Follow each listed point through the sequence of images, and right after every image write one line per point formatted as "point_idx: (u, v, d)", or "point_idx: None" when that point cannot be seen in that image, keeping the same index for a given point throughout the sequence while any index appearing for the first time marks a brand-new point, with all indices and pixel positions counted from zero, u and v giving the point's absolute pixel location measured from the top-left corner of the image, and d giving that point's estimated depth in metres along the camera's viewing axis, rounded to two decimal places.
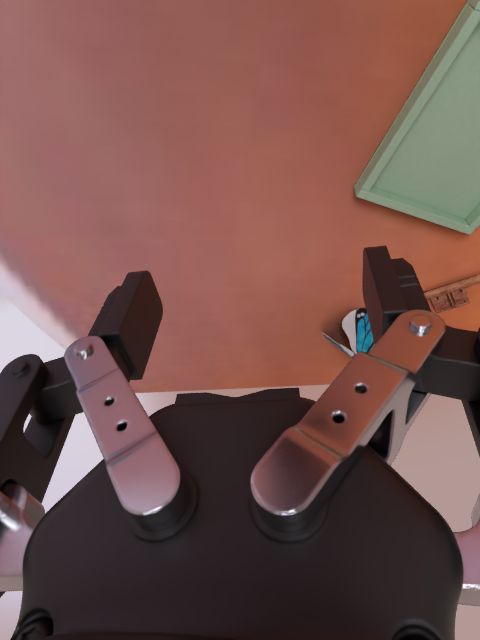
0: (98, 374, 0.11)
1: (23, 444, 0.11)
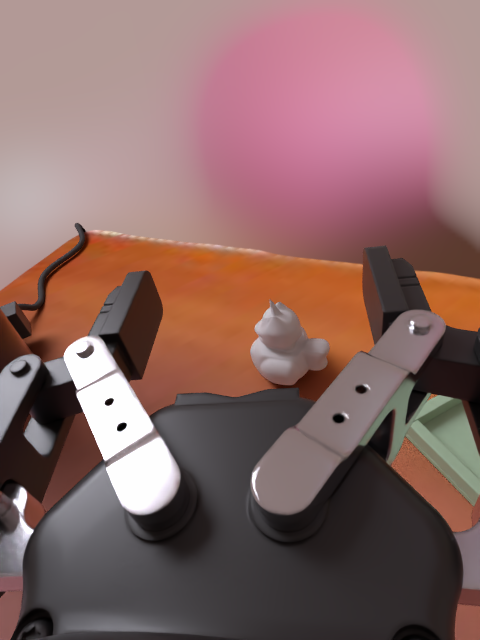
0: (98, 374, 0.11)
1: (23, 444, 0.11)
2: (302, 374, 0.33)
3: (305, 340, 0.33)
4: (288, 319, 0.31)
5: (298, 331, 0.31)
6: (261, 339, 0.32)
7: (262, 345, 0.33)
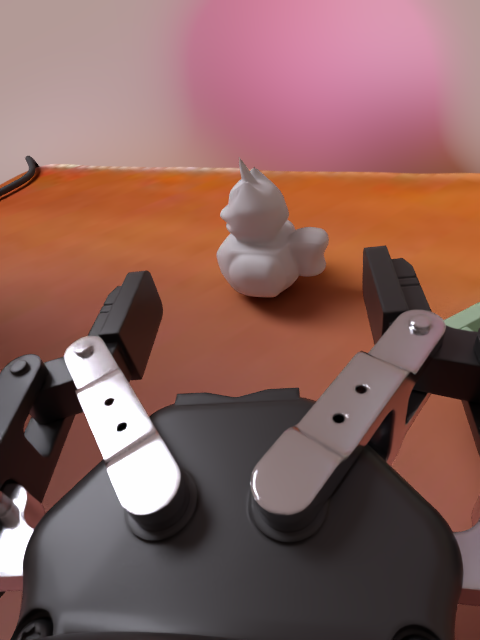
0: (98, 374, 0.11)
1: (23, 444, 0.11)
2: (289, 279, 0.23)
3: (293, 231, 0.23)
4: (267, 190, 0.21)
5: (282, 210, 0.21)
6: (229, 227, 0.22)
7: (232, 240, 0.23)
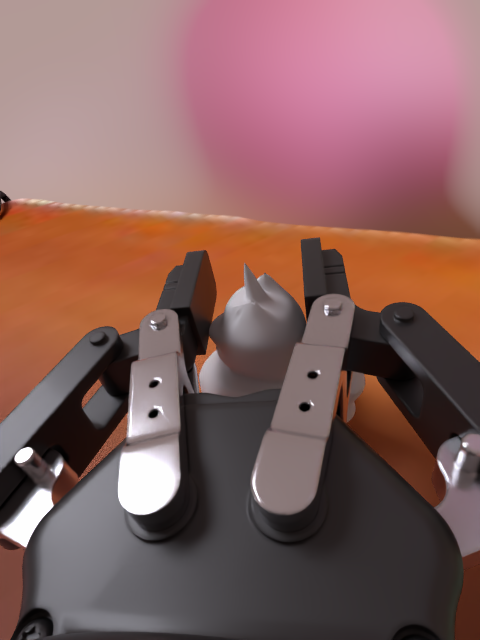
0: (160, 350, 0.12)
1: (78, 414, 0.11)
2: None
3: None
4: (283, 313, 0.14)
5: None
6: (220, 353, 0.15)
7: (223, 367, 0.16)
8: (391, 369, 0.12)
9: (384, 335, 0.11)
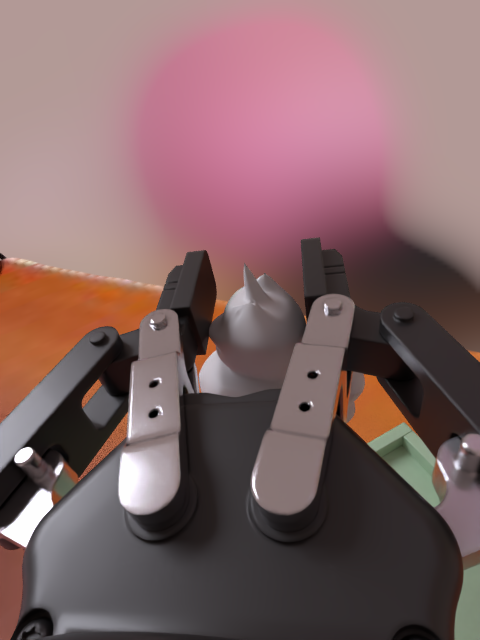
0: (160, 350, 0.12)
1: (78, 414, 0.11)
2: None
3: None
4: (282, 313, 0.14)
5: None
6: (220, 354, 0.15)
7: (223, 367, 0.16)
8: (391, 369, 0.12)
9: (384, 335, 0.11)
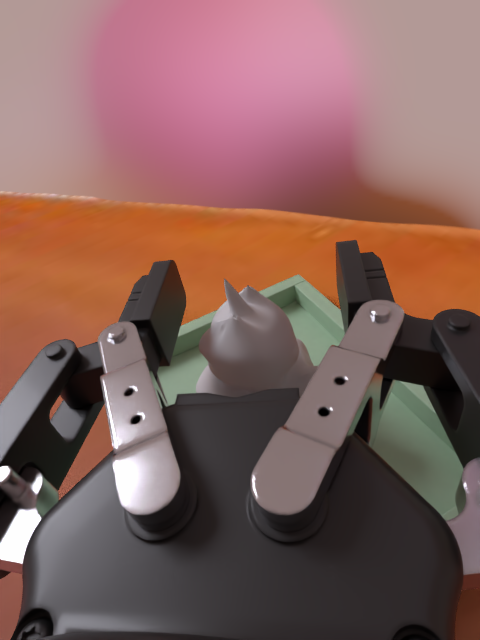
0: (125, 361, 0.12)
1: (47, 429, 0.11)
2: None
3: (306, 370, 0.15)
4: (267, 325, 0.14)
5: (290, 352, 0.14)
6: (211, 367, 0.15)
7: (216, 379, 0.16)
8: (442, 379, 0.11)
9: (438, 344, 0.10)
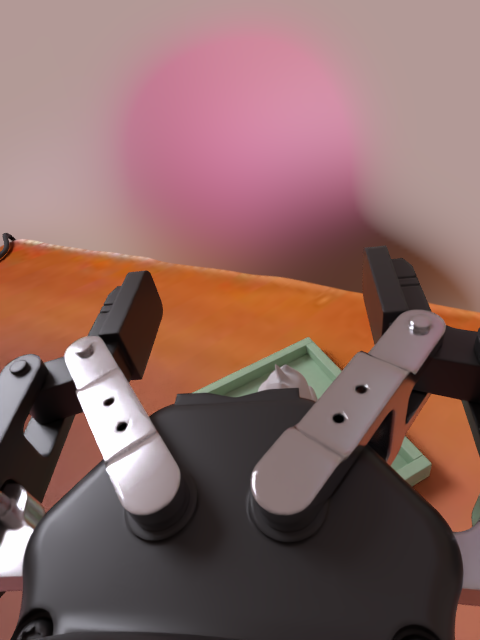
0: (98, 374, 0.11)
1: (23, 444, 0.11)
2: None
3: None
4: (296, 385, 0.28)
5: (307, 398, 0.28)
6: None
7: None
8: None
9: None
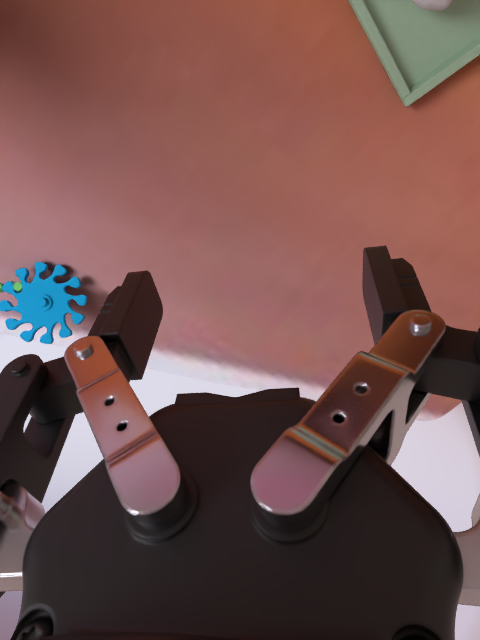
0: (98, 374, 0.11)
1: (23, 444, 0.11)
2: None
3: None
4: None
5: None
6: None
7: None
8: None
9: None
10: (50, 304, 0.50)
